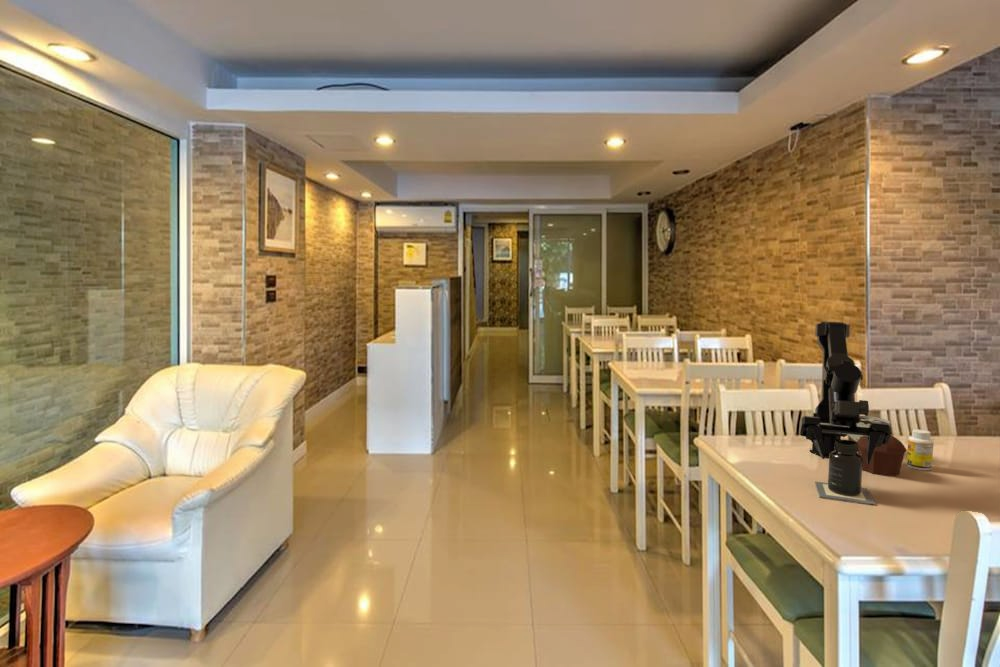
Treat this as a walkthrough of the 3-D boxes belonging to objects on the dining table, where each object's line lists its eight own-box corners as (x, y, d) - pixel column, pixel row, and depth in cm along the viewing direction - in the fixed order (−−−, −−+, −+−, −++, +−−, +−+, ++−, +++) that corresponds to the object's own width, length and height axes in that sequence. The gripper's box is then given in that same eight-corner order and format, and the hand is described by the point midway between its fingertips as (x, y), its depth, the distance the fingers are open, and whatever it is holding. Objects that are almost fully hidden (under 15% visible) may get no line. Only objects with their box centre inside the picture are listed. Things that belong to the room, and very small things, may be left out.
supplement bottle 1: (843, 485, 141) (846, 437, 140) (867, 495, 135) (871, 444, 134) (820, 487, 140) (823, 438, 139) (844, 497, 133) (847, 446, 132)
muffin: (844, 464, 160) (846, 428, 159) (881, 463, 161) (884, 428, 160) (876, 478, 148) (878, 440, 148) (916, 477, 149) (919, 439, 149)
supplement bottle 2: (907, 463, 162) (910, 427, 161) (931, 467, 158) (934, 430, 157) (905, 468, 157) (908, 431, 156) (930, 472, 154) (933, 434, 153)
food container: (897, 454, 170) (900, 421, 169) (888, 458, 167) (890, 423, 166) (852, 444, 180) (855, 413, 179) (843, 447, 177) (845, 415, 176)
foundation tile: (814, 482, 144) (815, 481, 144) (866, 489, 140) (866, 487, 140) (819, 497, 134) (819, 495, 134) (875, 505, 130) (875, 503, 130)
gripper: (803, 383, 143) (804, 438, 134) (893, 390, 136) (900, 448, 127) (799, 408, 151) (800, 461, 142) (883, 416, 144) (889, 472, 135)
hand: (845, 460), depth 136 cm, fingers open, 9 cm apart
